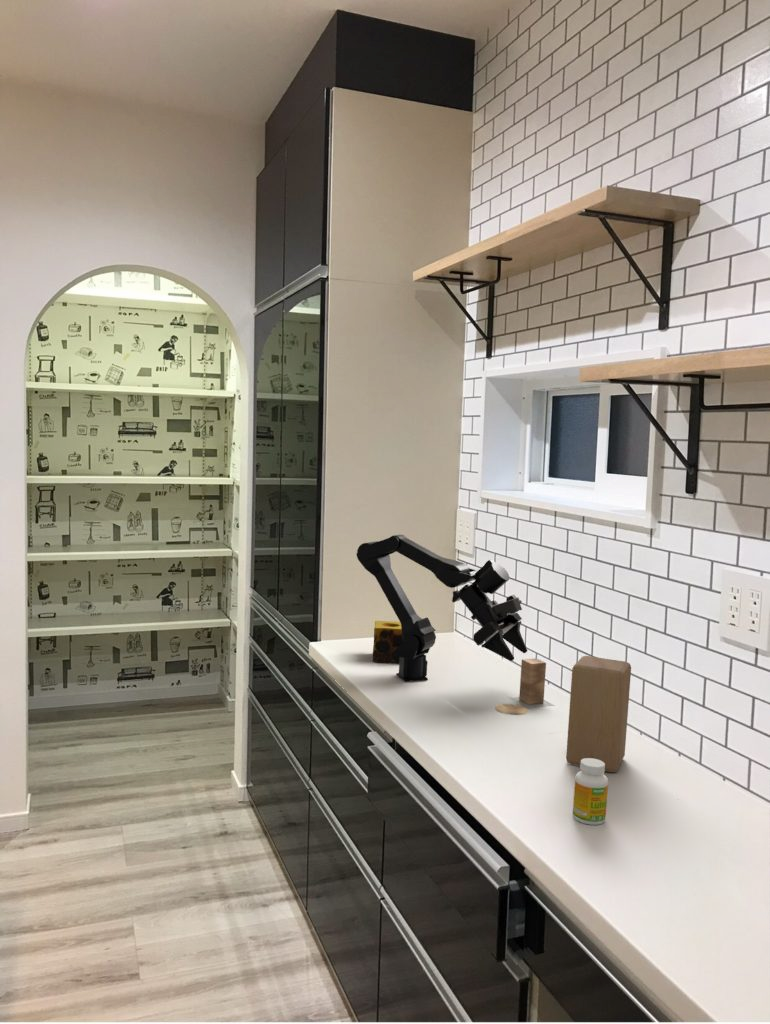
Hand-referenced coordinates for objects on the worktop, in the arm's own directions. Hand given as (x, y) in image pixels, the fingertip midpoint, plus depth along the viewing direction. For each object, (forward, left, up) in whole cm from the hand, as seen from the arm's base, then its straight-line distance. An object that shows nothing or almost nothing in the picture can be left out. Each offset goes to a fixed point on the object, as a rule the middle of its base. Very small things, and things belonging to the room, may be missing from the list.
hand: (519, 656), depth 203 cm
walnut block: (+2, -3, -11) cm, 11 cm away
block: (-6, -39, -11) cm, 41 cm away
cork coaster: (-6, -7, -11) cm, 14 cm away
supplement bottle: (-23, -60, -11) cm, 65 cm away
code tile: (+2, -3, -11) cm, 12 cm away
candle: (-16, +42, -11) cm, 46 cm away
